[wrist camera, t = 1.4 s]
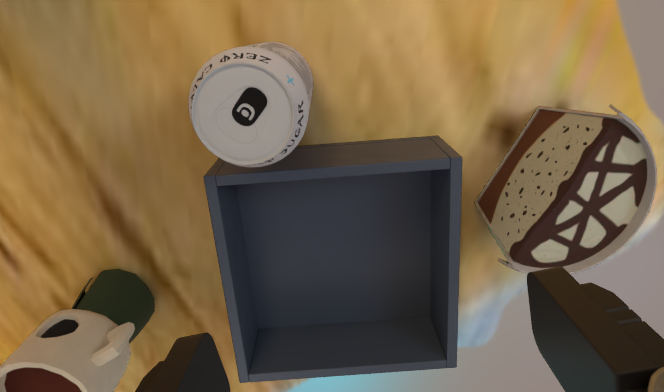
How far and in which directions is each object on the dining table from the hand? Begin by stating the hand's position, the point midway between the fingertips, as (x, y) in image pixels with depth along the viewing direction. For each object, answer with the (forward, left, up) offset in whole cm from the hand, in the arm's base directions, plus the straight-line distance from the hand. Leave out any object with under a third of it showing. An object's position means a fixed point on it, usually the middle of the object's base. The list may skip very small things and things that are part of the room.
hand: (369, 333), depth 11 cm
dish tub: (-1, -10, -27) cm, 29 cm away
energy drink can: (-5, +4, -27) cm, 28 cm away
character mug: (-21, -14, -27) cm, 37 cm away
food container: (+16, -5, -27) cm, 32 cm away
